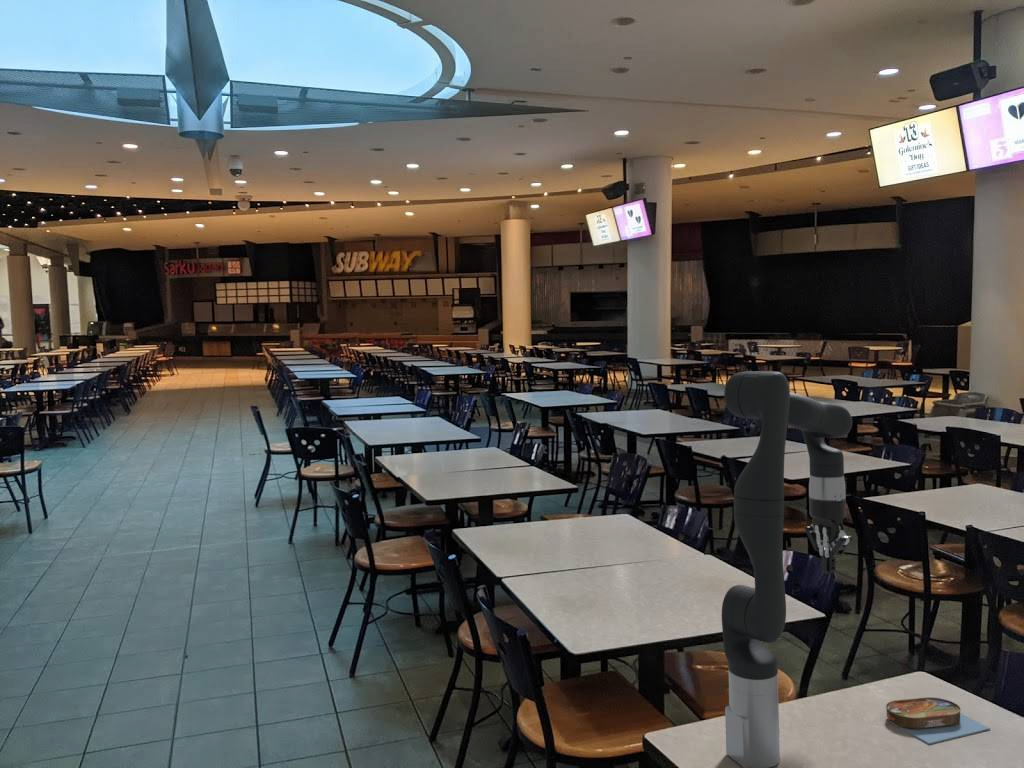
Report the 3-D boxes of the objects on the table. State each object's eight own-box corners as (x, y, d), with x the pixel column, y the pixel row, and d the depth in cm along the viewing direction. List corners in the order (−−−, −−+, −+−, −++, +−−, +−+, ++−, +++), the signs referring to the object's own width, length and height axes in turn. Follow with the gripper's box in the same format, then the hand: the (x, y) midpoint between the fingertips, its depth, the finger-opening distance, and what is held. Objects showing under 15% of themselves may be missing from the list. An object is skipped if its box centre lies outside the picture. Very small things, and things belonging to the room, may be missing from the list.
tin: (943, 695, 171) (969, 710, 163) (944, 710, 171) (970, 725, 163) (877, 701, 170) (900, 716, 162) (878, 716, 170) (901, 731, 162)
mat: (929, 744, 157) (929, 743, 157) (890, 722, 166) (890, 721, 166) (990, 729, 162) (990, 728, 162) (949, 709, 171) (949, 707, 171)
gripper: (793, 492, 180) (795, 567, 181) (834, 502, 168) (835, 583, 169) (820, 489, 183) (822, 563, 184) (862, 499, 170) (864, 578, 171)
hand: (828, 572), depth 176 cm, fingers closed
